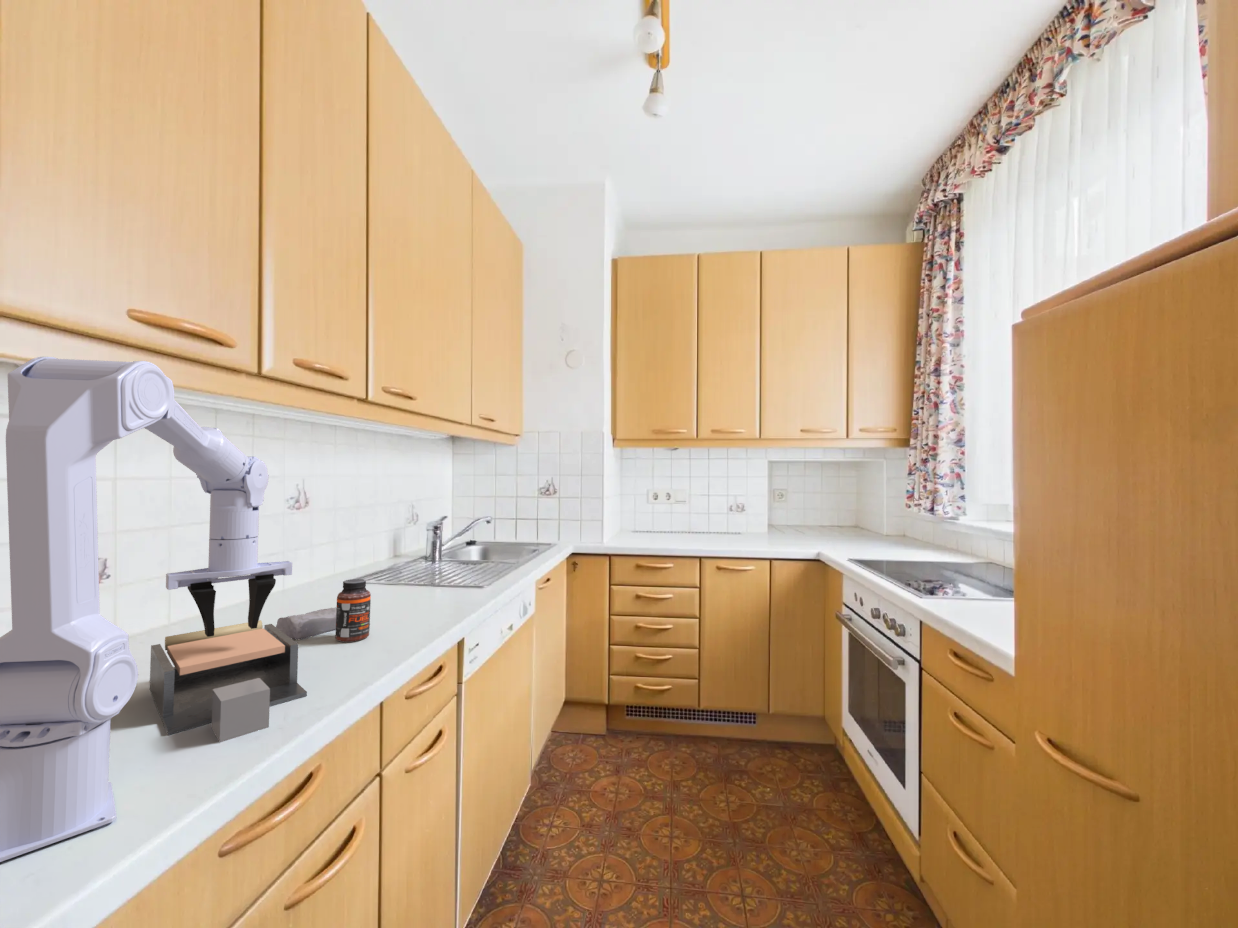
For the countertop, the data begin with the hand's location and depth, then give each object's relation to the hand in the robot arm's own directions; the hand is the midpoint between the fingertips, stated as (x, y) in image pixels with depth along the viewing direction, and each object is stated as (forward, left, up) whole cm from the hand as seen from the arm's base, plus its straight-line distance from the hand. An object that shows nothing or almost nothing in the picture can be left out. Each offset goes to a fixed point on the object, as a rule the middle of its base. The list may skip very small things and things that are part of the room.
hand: (231, 630), depth 73 cm
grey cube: (-1, -12, -10) cm, 15 cm away
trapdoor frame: (0, +1, -9) cm, 10 cm away
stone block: (+19, +26, -10) cm, 34 cm away
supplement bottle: (+22, +14, -10) cm, 28 cm away
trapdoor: (0, +4, -4) cm, 6 cm away
